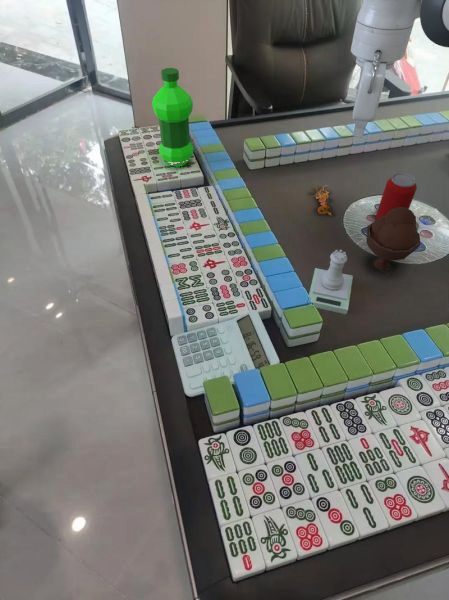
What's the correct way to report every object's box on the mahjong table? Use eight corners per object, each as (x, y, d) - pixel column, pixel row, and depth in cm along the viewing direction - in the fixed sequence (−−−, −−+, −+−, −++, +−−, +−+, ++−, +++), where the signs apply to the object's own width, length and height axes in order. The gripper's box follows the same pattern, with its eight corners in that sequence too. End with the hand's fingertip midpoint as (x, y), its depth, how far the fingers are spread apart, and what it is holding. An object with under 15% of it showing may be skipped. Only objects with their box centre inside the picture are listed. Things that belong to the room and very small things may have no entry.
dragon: (314, 217, 108) (317, 205, 105) (310, 191, 116) (312, 179, 113) (332, 218, 108) (335, 205, 105) (326, 192, 116) (329, 180, 113)
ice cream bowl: (349, 253, 99) (366, 198, 88) (397, 251, 100) (419, 196, 89) (362, 286, 92) (382, 231, 81) (413, 283, 93) (440, 228, 82)
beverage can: (404, 217, 108) (421, 175, 100) (400, 232, 104) (417, 190, 95) (377, 210, 110) (391, 168, 101) (372, 225, 106) (386, 182, 97)
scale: (350, 283, 93) (353, 273, 90) (345, 318, 86) (348, 307, 84) (313, 276, 94) (315, 265, 92) (305, 309, 88) (308, 298, 85)
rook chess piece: (326, 272, 90) (333, 243, 84) (346, 281, 89) (355, 251, 83) (317, 285, 88) (324, 255, 82) (337, 294, 86) (345, 265, 80)
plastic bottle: (152, 162, 125) (140, 70, 107) (180, 149, 130) (174, 60, 112) (173, 176, 120) (164, 82, 102) (202, 162, 125) (199, 71, 107)
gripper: (398, 66, 63) (374, 153, 74) (400, 25, 77) (379, 103, 87) (355, 61, 65) (336, 147, 75) (364, 22, 78) (347, 99, 88)
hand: (359, 123), depth 81 cm, fingers open, 8 cm apart
